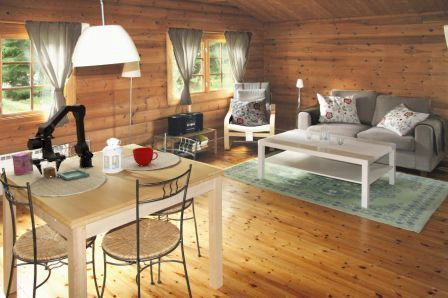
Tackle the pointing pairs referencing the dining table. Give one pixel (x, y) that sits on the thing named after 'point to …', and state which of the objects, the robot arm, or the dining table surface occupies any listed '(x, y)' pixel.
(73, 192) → the dining table surface
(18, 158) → the box
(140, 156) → the ceramic cup
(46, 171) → the cube
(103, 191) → the dining table surface
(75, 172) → the tray
